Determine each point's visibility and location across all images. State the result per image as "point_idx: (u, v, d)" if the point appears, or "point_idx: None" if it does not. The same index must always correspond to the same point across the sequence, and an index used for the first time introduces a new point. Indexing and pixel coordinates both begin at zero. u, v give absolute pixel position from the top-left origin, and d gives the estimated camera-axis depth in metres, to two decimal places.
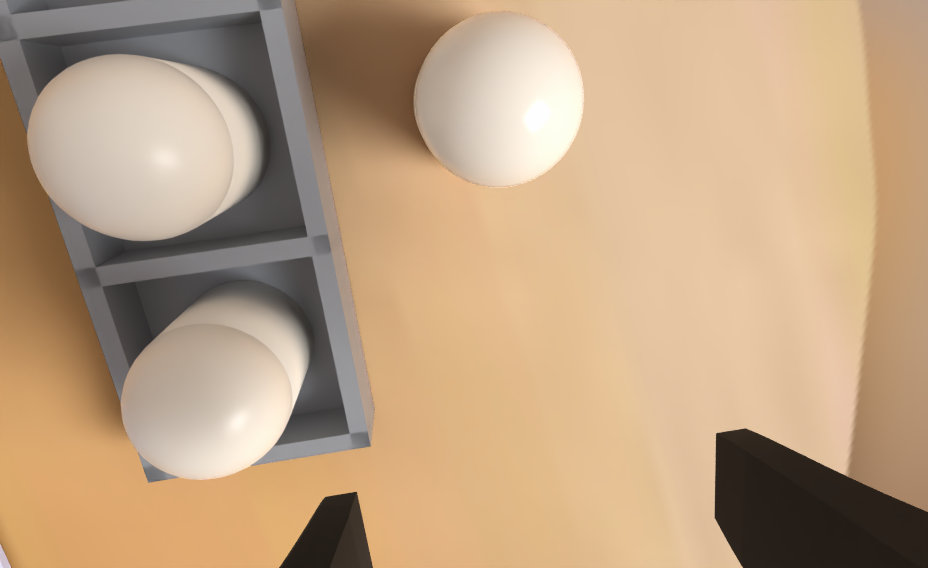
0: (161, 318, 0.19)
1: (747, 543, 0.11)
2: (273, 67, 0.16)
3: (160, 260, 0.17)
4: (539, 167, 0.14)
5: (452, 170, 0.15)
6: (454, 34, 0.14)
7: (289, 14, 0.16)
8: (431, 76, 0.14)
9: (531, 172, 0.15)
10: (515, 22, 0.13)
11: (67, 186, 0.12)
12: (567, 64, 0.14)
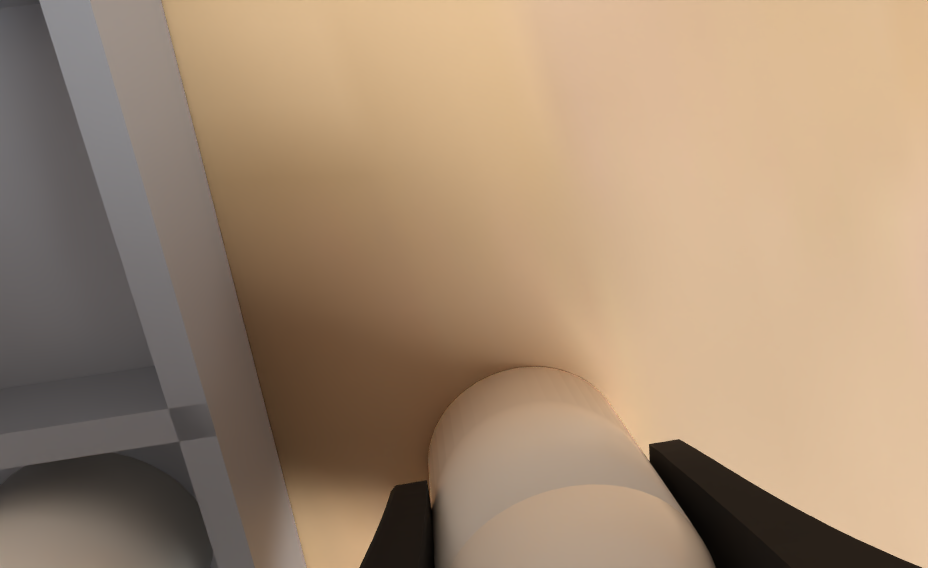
0: None
1: None
2: (204, 514, 0.10)
3: None
4: None
5: None
6: None
7: (234, 407, 0.10)
8: None
9: None
10: None
11: None
12: None
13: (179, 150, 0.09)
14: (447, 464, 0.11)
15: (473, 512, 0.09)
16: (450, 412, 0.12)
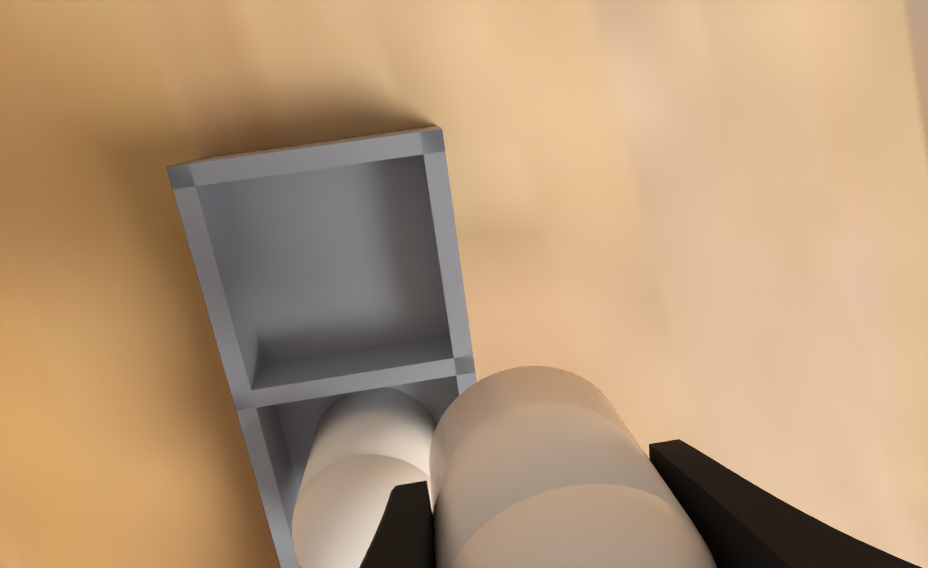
0: None
1: None
2: None
3: None
4: None
5: None
6: None
7: None
8: None
9: None
10: None
11: None
12: None
13: None
14: (448, 463, 0.11)
15: (474, 511, 0.09)
16: (451, 412, 0.12)
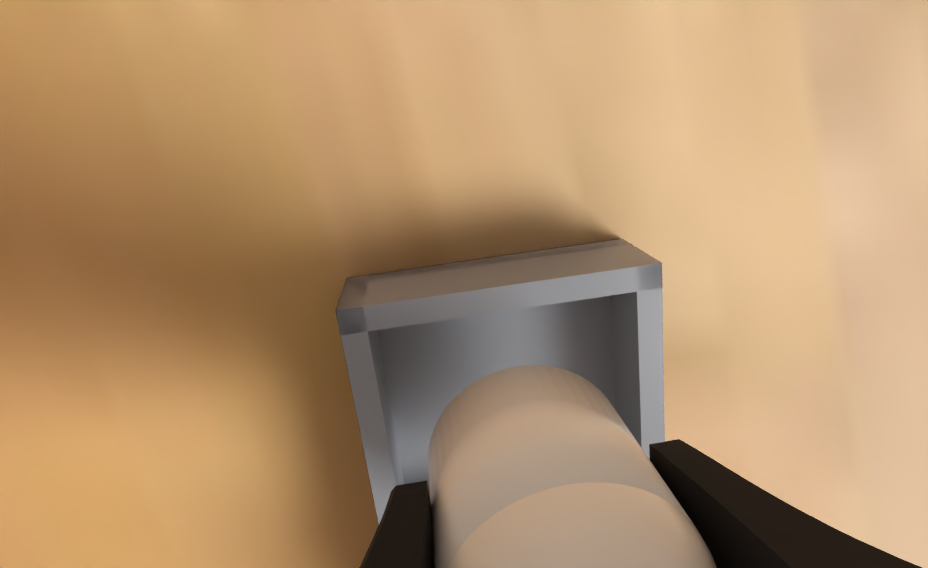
0: None
1: None
2: None
3: None
4: None
5: None
6: None
7: None
8: None
9: None
10: None
11: None
12: None
13: None
14: (447, 462, 0.11)
15: (473, 510, 0.09)
16: (450, 410, 0.12)
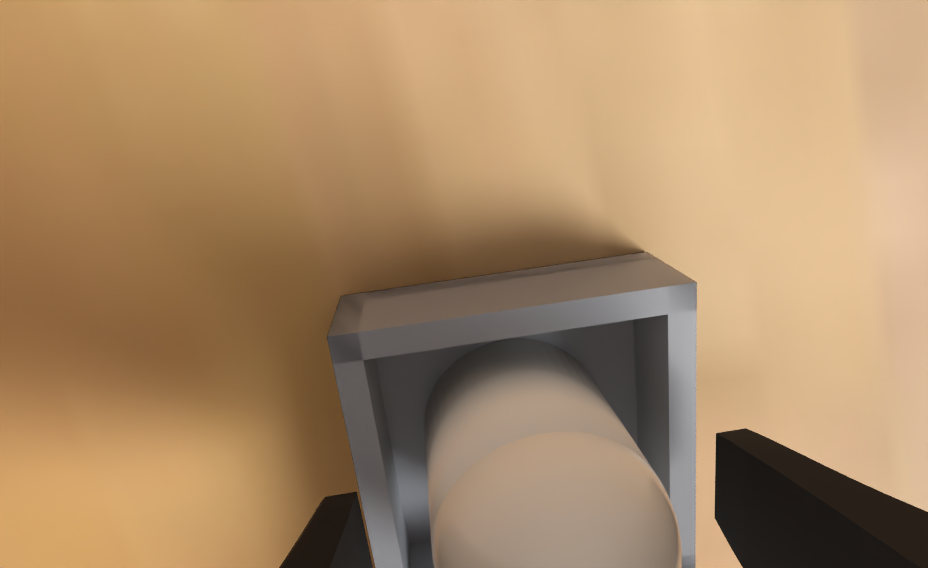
0: None
1: (746, 543, 0.11)
2: None
3: None
4: None
5: None
6: (493, 503, 0.09)
7: None
8: (458, 559, 0.09)
9: None
10: (589, 499, 0.09)
11: None
12: (666, 552, 0.09)
13: None
14: (441, 422, 0.12)
15: (462, 458, 0.10)
16: (444, 379, 0.13)
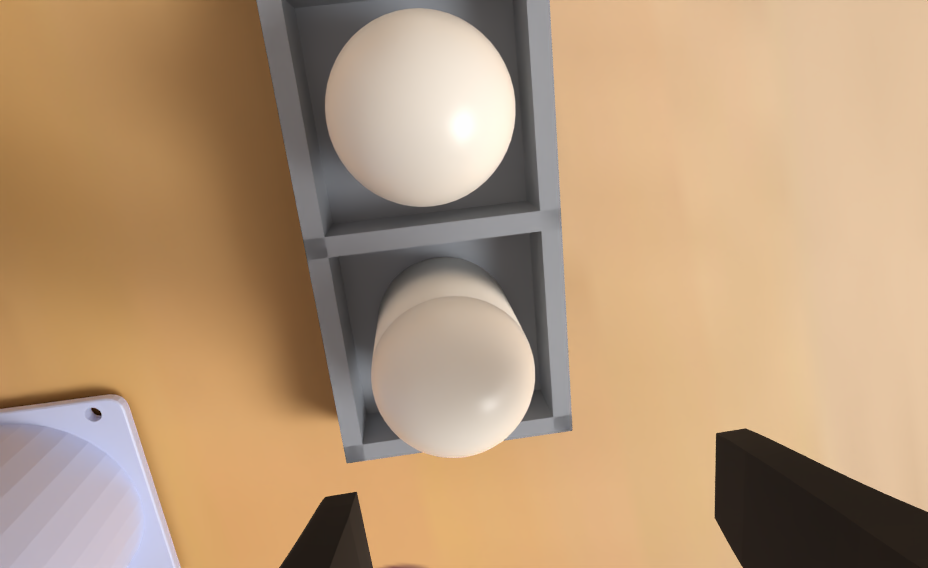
0: (360, 294, 0.19)
1: (747, 543, 0.11)
2: (530, 31, 0.15)
3: (390, 231, 0.16)
4: None
5: None
6: None
7: None
8: None
9: None
10: None
11: (386, 143, 0.12)
12: None
13: None
14: None
15: None
16: None
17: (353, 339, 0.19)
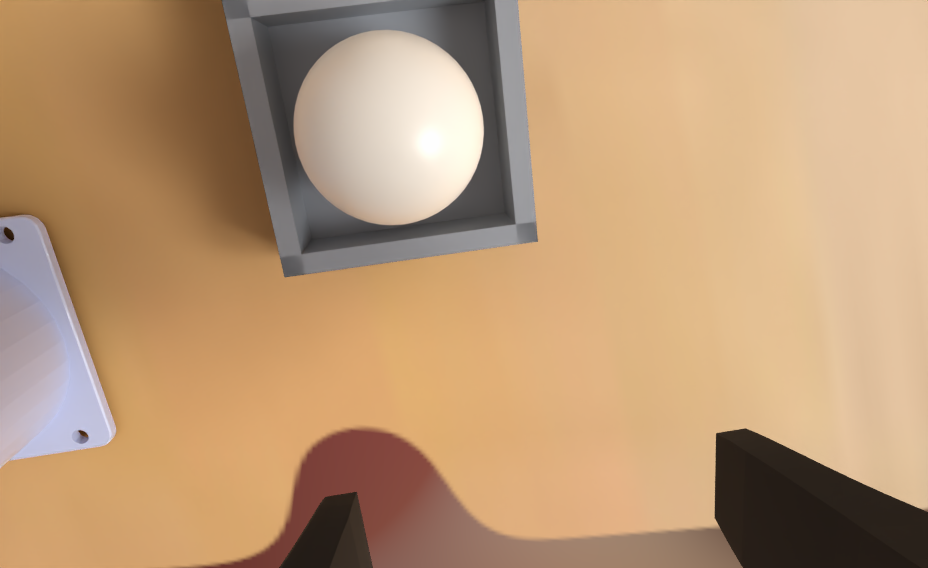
0: (297, 92, 0.17)
1: (746, 543, 0.11)
2: None
3: None
4: None
5: None
6: None
7: None
8: None
9: None
10: None
11: None
12: None
13: None
14: None
15: None
16: None
17: (292, 146, 0.17)
